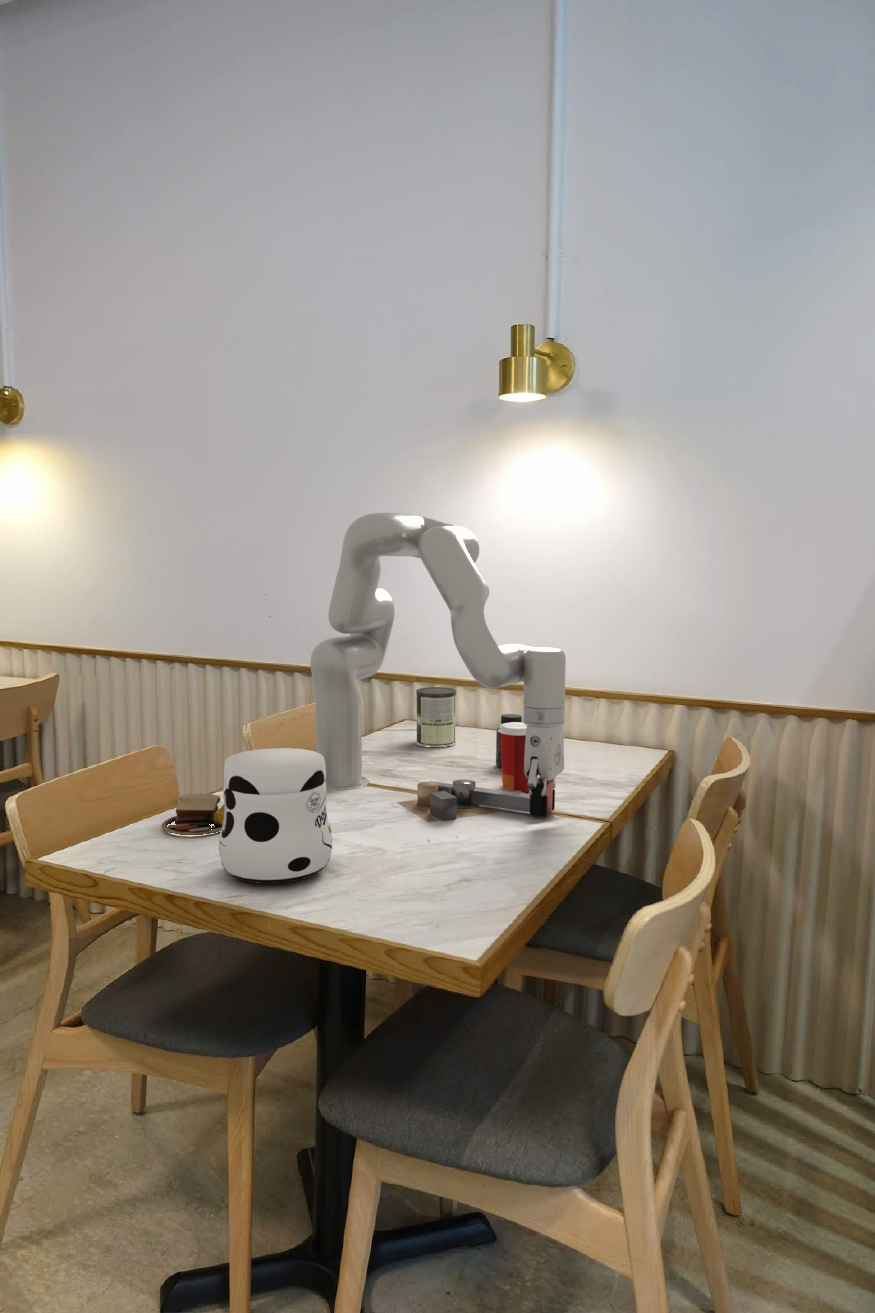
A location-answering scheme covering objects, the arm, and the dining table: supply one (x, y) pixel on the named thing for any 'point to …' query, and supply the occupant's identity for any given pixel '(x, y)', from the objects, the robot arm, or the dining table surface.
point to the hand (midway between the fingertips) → (542, 811)
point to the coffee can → (436, 716)
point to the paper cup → (513, 756)
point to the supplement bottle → (504, 719)
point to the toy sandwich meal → (196, 815)
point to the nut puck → (425, 793)
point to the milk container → (275, 815)
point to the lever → (492, 795)
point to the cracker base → (459, 811)
